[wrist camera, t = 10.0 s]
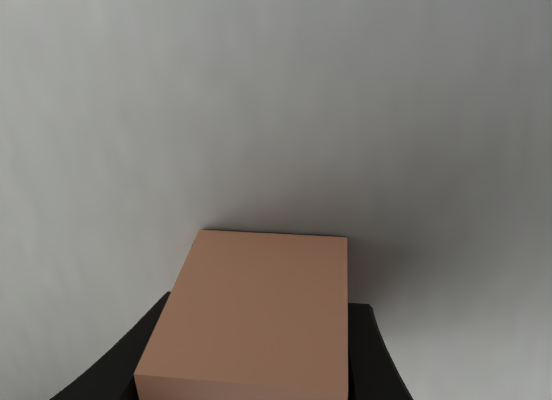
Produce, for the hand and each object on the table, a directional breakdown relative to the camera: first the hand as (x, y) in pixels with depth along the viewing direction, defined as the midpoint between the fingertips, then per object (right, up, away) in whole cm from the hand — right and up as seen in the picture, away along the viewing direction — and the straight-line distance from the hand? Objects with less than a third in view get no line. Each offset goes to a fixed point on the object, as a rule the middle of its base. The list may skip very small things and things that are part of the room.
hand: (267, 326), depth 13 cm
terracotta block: (0, +1, +1) cm, 1 cm away
